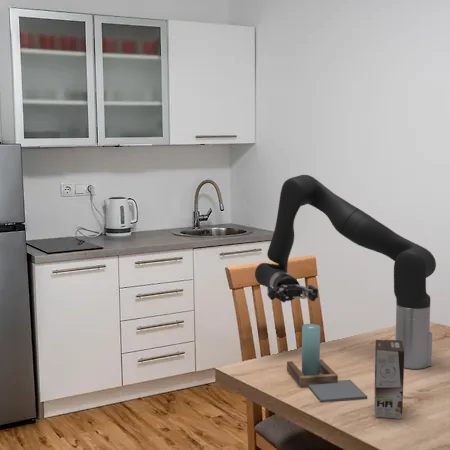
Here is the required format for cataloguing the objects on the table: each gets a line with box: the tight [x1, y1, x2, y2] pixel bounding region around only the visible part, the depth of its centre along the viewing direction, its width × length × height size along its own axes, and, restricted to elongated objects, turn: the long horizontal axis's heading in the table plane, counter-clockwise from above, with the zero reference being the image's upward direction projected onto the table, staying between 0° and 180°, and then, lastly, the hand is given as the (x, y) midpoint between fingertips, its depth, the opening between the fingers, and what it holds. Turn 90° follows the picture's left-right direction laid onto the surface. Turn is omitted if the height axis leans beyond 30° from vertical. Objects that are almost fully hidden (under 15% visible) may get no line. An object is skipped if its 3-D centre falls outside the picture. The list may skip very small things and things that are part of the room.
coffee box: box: [374, 339, 405, 420], centre depth 162 cm, size 9×6×16 cm
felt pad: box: [307, 379, 368, 403], centre depth 175 cm, size 12×12×1 cm
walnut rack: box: [286, 358, 339, 388], centre depth 185 cm, size 10×14×2 cm
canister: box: [301, 323, 321, 376], centre depth 185 cm, size 5×5×14 cm
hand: (299, 298), depth 195 cm, fingers open, 8 cm apart
